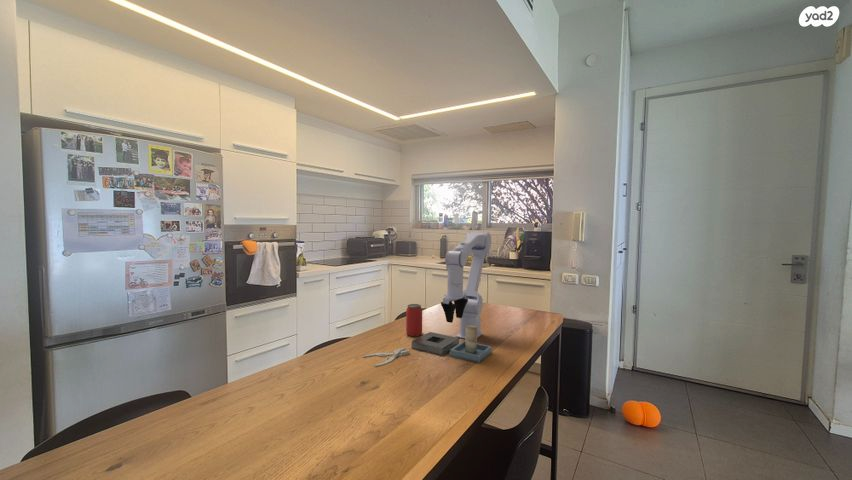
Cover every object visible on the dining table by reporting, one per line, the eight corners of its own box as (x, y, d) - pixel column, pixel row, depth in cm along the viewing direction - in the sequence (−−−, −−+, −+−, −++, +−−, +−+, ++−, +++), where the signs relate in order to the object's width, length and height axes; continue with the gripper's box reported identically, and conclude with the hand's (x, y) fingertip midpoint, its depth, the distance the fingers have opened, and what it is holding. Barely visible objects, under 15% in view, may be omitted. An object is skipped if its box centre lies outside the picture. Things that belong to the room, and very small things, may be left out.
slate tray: (463, 346, 129) (463, 340, 129) (491, 352, 123) (491, 346, 123) (449, 356, 120) (449, 349, 119) (479, 363, 114) (479, 356, 114)
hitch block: (429, 338, 138) (430, 331, 138) (459, 344, 131) (459, 337, 131) (411, 347, 127) (411, 341, 127) (442, 355, 120) (442, 348, 120)
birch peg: (467, 349, 124) (468, 324, 124) (478, 351, 122) (479, 326, 122) (463, 352, 121) (463, 327, 120) (473, 355, 119) (474, 329, 118)
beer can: (421, 336, 139) (422, 307, 139) (405, 336, 139) (405, 307, 139) (422, 331, 146) (422, 303, 145) (406, 331, 146) (406, 303, 145)
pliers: (362, 353, 118) (400, 344, 127) (362, 358, 118) (400, 349, 127) (375, 363, 110) (414, 353, 119) (375, 368, 110) (414, 357, 119)
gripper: (454, 279, 135) (453, 314, 135) (435, 284, 123) (435, 322, 123) (471, 281, 131) (470, 317, 132) (453, 286, 119) (452, 325, 119)
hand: (454, 319), depth 127 cm, fingers open, 7 cm apart
